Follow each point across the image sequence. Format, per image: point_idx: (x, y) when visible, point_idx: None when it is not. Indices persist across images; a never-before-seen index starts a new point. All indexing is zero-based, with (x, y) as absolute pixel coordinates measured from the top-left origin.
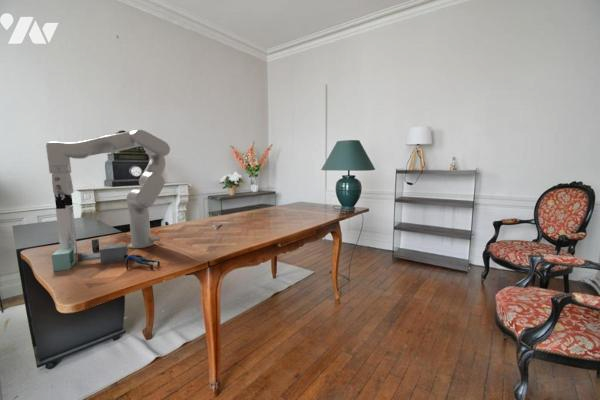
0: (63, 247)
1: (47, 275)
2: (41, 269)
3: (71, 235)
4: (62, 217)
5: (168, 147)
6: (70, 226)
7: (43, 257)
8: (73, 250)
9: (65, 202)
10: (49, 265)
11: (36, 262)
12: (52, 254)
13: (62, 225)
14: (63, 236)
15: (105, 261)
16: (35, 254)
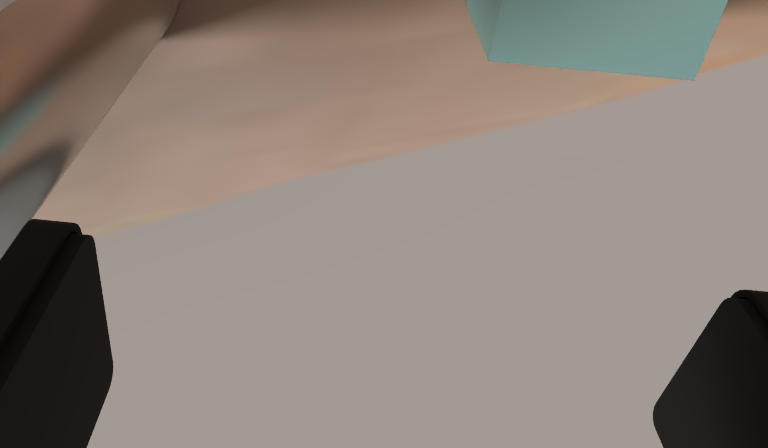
0: (155, 43)
1: (709, 46)
2: (515, 108)
3: (85, 3)
4: (2, 227)
5: None
6: (29, 54)
7: (164, 153)
8: None
9: (74, 432)
10: (438, 76)
11: (295, 169)
12: (678, 77)
13: (63, 158)
14: (118, 84)
15: None
16: (46, 215)
